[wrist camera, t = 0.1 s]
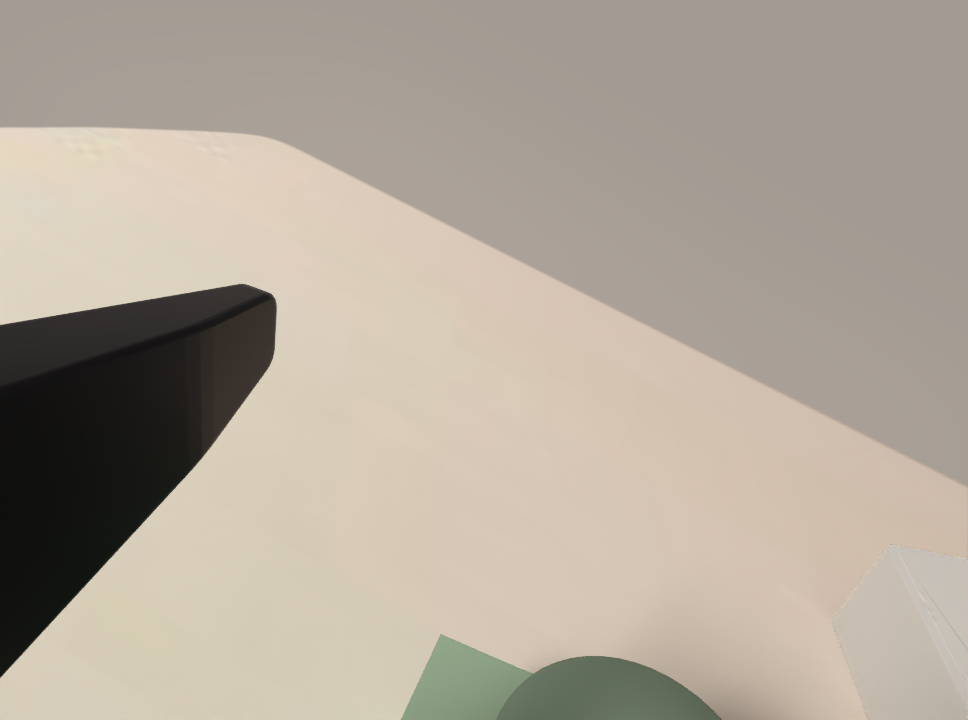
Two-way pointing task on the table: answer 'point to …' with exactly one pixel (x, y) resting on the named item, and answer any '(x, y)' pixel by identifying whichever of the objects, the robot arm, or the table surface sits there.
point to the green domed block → (546, 690)
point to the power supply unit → (909, 636)
